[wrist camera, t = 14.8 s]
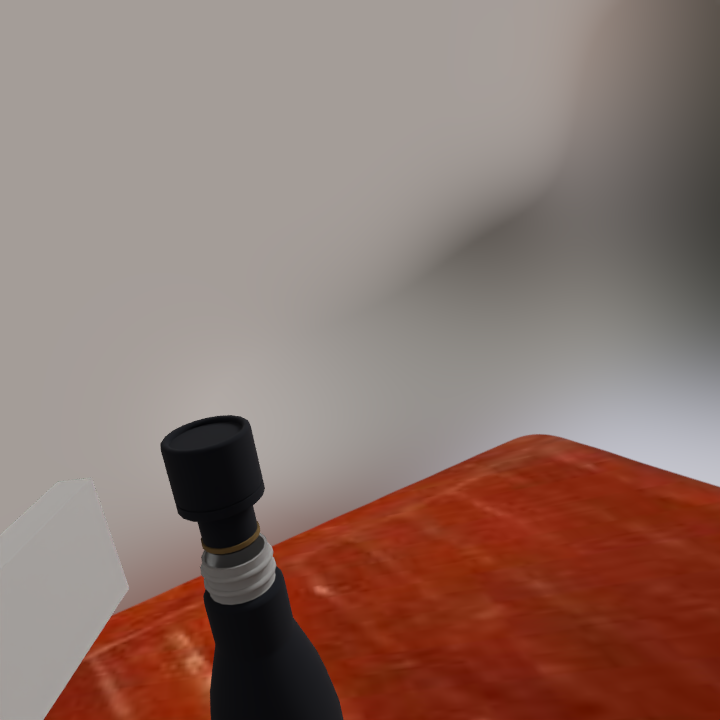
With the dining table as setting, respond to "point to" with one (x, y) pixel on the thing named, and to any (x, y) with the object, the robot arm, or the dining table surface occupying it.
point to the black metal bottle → (243, 581)
